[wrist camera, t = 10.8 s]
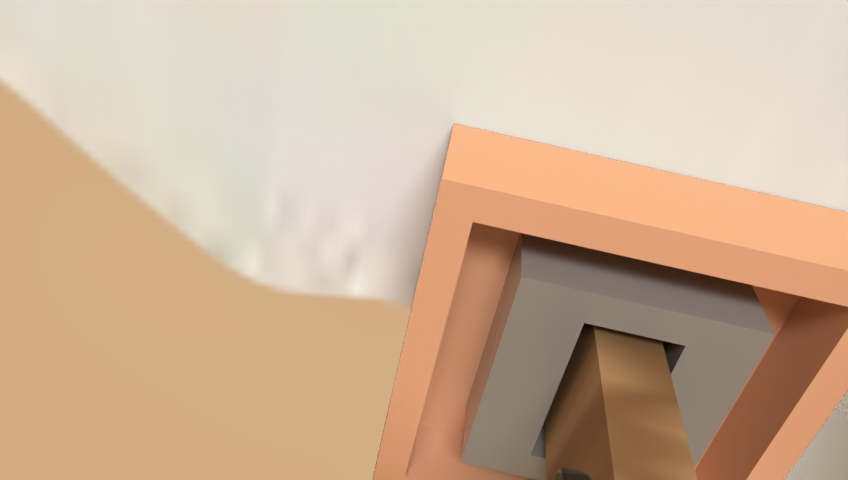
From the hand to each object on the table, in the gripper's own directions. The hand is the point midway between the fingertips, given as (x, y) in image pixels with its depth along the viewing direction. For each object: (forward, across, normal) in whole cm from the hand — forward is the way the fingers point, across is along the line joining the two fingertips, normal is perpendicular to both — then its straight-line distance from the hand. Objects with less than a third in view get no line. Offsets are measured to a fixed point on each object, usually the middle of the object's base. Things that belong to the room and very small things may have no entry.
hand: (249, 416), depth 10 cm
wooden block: (+11, -8, +6) cm, 15 cm away
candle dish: (+12, -8, +6) cm, 16 cm away
